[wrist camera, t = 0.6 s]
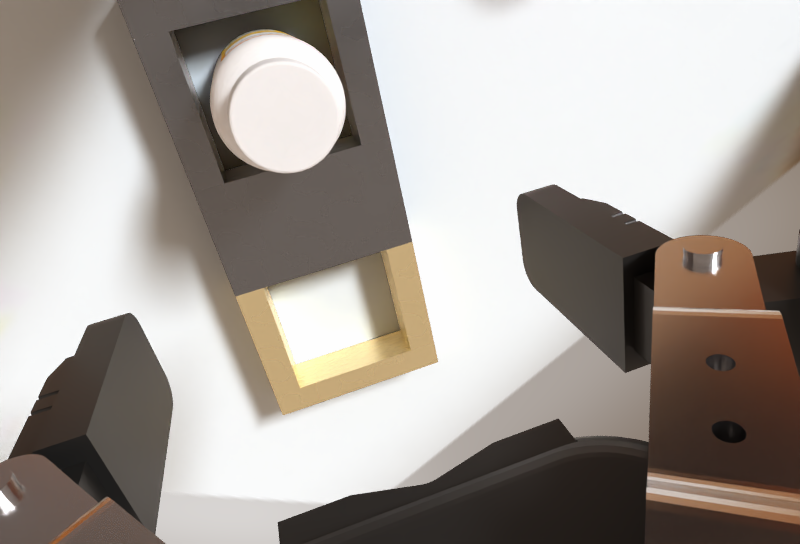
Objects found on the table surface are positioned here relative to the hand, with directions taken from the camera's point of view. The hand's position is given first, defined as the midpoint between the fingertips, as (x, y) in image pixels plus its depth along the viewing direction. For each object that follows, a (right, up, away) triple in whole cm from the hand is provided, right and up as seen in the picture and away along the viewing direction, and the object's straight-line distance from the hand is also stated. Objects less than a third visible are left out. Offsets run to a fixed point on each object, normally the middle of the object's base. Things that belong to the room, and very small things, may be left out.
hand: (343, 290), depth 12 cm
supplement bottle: (-6, +10, +17) cm, 21 cm away
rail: (-4, +5, +20) cm, 21 cm away
